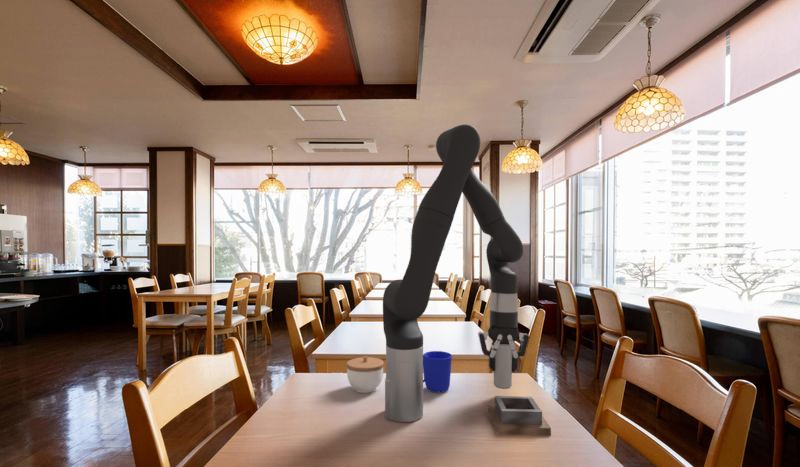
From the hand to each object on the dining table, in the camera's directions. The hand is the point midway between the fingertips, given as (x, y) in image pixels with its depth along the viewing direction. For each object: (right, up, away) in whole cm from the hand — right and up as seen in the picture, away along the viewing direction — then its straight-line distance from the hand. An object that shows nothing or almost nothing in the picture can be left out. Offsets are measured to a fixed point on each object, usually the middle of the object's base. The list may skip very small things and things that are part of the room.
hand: (502, 370), depth 116 cm
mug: (-19, -8, +6) cm, 22 cm away
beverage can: (0, -5, 0) cm, 5 cm away
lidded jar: (-38, -8, +6) cm, 40 cm away
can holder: (0, -7, -16) cm, 17 cm away
